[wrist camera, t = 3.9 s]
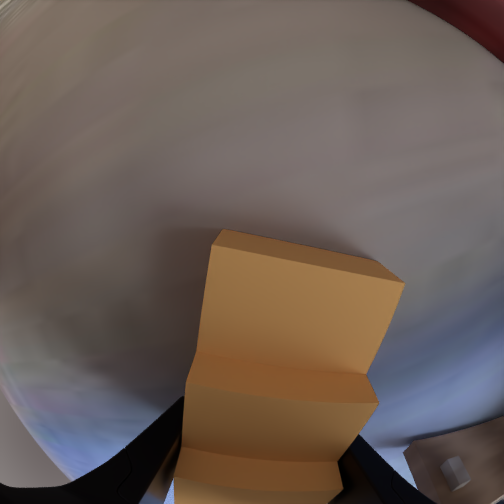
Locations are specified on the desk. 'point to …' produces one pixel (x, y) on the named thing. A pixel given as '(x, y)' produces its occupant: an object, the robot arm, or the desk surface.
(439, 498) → the door
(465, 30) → the hardcover book
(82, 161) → the desk surface
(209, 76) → the desk surface
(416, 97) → the desk surface
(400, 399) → the desk surface
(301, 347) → the orange stepped block
